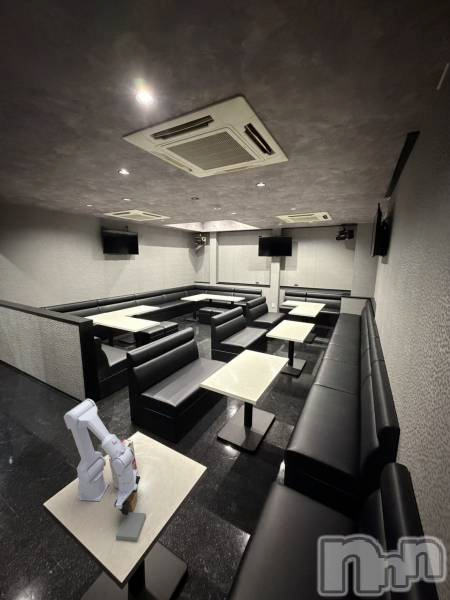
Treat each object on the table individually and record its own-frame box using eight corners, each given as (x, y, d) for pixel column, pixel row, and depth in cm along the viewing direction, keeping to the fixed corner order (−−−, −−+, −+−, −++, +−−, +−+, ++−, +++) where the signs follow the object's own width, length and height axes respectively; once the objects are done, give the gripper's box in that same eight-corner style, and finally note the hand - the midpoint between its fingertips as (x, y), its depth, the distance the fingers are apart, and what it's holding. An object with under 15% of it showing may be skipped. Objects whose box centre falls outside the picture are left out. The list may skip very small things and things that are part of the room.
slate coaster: (116, 541, 88) (115, 535, 87) (127, 517, 96) (126, 511, 95) (137, 543, 87) (136, 537, 87) (146, 519, 95) (145, 513, 94)
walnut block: (122, 512, 97) (120, 502, 96) (127, 500, 101) (126, 491, 100) (132, 513, 96) (131, 503, 95) (137, 501, 101) (136, 492, 100)
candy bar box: (127, 466, 117) (123, 438, 113) (137, 467, 116) (133, 440, 112) (113, 488, 106) (108, 458, 102) (123, 490, 105) (118, 460, 101)
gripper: (126, 496, 88) (131, 524, 91) (143, 461, 102) (146, 486, 105) (108, 495, 88) (113, 522, 91) (127, 460, 102) (131, 485, 105)
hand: (130, 503), depth 98 cm, fingers open, 7 cm apart
